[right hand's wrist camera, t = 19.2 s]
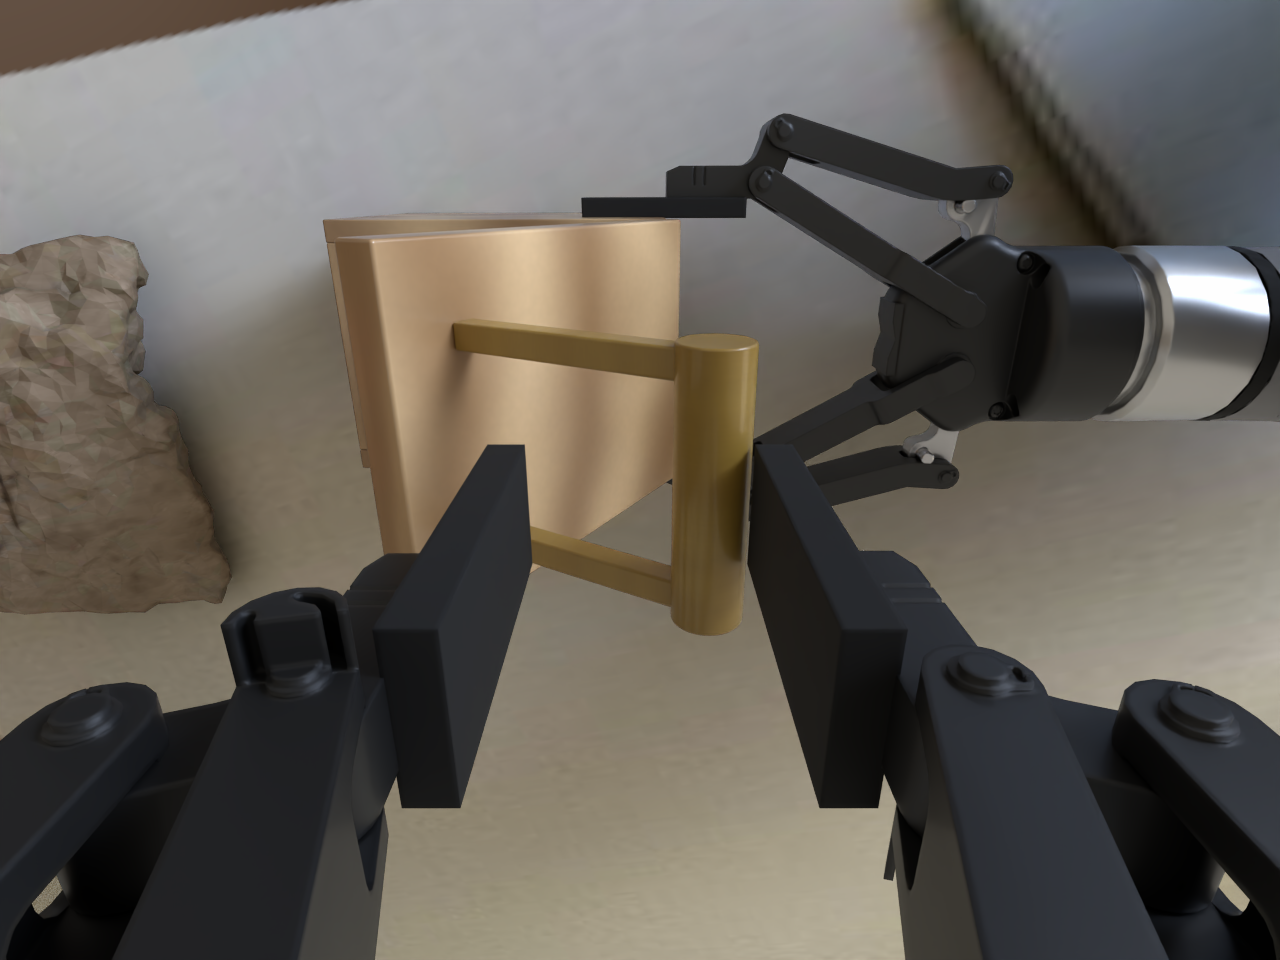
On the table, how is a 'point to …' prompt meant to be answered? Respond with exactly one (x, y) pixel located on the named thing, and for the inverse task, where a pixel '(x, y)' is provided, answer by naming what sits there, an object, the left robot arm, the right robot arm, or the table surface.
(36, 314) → the stone
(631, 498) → the lid
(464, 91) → the table surface
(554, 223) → the chest
